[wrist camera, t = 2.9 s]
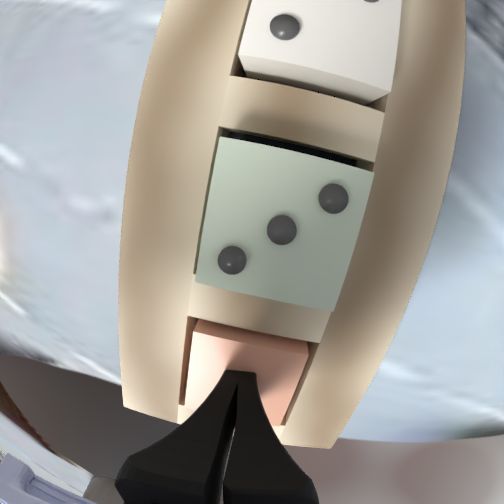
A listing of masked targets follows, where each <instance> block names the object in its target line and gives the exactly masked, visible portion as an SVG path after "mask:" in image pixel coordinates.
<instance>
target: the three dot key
mask: <svg viewBox="0 0 504 504" xmlns="http://www.w3.org/2000/svg"><path fill="white" fill-rule="evenodd" d="M373 177H374V172H370V171H367V170H364V169H360V168H357V167H353V166H350V165H346V164H342V163H339V162H335V161H331V160H328V159H324V158H320V157H316V156H312V155H308V154H304V153H299V152H295V151H291V150H286V149H282V148H277V147H273V146H268V145H263V144H258V143H253V142H248V141H243V140H237V139H232V138H226V137H220V138H219V143H218V148H217V153H216V158H215V163H214V169H213V174H212V179H211V185H210V190H209V196H208V202H207V208H206V213H205V219H204V225H203V232H202V238H201V244H200V251H199V257H198V264H197V271H196V278H195V283H199V284H203V285H208V286H212V287H216V288H221V289H225V290H230V291H234V292H239V293H243V294H248V295H252V296H257V297H262V298H266V299H271V300H276V301H281V302H286V303H291V304H295V305H300V306H306V307H311V308H316V309H321V310H326V311H331V312H334V309H335V306H336V303H337V300H338V297H339V294H340V291H341V288H342V285H343V282H344V279H345V276H346V273H347V270H348V267H349V264H350V261H351V257H352V254H353V251H354V248H355V244H356V241H357V237H358V234H359V230H360V227H361V223H362V220H363V216H364V212H365V209H366V205H367V201H368V197H369V193H370V190H371V186H372V181H373Z"/></svg>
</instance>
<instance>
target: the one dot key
mask: <svg viewBox="0 0 504 504" xmlns="http://www.w3.org/2000/svg"><path fill="white" fill-rule="evenodd" d="M308 356H309V353H308V346H307V341H304V340H299V339H293V338H288V337H283V336H278V335H272V334H267V333H262V332H258V331H253V330H248V329H243V328H239V327H234V326H230V325H225V324H221V323H217V322H212V321H208V320H204V319H200V318H199V320H198V322H197V324H196V326H195V329H194V331H193V337H192V345H191V353H190V362H189V370H188V379H187V388H186V398H185V408H189V409H193V410H197V408H198V407H199V406H200V405H201V404H202V403H203V402H204V400H205V399H206V398H207V397H208V395H209V394H210V393H211V391H212V390H213V389H214V387H215V386H216V384H217V383H218V381H219V380H220V378H221V376H222V374H223V372H224V371H225V370H236V371H247V372H255V373H256V374H257V386H258V390H259V394H260V398H261V401H262V404H263V407H264V410H265V412H266V415H267V417H268V419H269V422H270V424H271V425H272V426H278V427H280V424H281V422H282V420H283V417H284V415H285V413H286V411H287V408H288V406H289V403H290V401H291V399H292V396H293V394H294V391H295V389H296V387H297V384H298V382H299V379H300V377H301V374H302V372H303V369H304V366H305V364H306V361H307V359H308Z"/></svg>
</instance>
